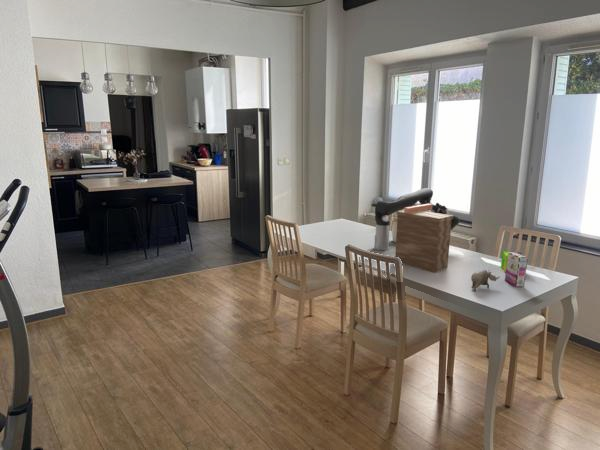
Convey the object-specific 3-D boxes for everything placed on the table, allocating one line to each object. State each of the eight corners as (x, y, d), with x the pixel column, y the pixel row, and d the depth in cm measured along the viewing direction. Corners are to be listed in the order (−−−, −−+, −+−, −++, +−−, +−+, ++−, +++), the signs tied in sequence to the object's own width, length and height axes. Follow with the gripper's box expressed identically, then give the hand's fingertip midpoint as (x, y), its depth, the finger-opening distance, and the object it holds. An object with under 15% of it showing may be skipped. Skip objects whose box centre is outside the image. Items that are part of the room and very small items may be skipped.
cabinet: (435, 273, 254) (439, 218, 247) (393, 261, 275) (396, 211, 268) (448, 268, 263) (453, 215, 257) (407, 257, 285) (411, 208, 278)
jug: (388, 242, 322) (390, 209, 317) (392, 238, 336) (394, 206, 331) (410, 245, 317) (412, 210, 311) (413, 240, 331) (415, 207, 325)
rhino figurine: (460, 283, 229) (476, 259, 229) (472, 294, 236) (488, 271, 237) (471, 289, 222) (488, 265, 223) (484, 300, 230) (500, 276, 230)
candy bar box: (524, 287, 232) (528, 257, 229) (515, 287, 232) (519, 257, 228) (512, 280, 243) (516, 251, 239) (504, 280, 242) (507, 251, 239)
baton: (408, 213, 261) (408, 208, 260) (404, 212, 263) (404, 207, 262) (432, 208, 278) (432, 204, 277) (428, 208, 280) (428, 203, 280)
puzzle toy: (523, 273, 255) (525, 257, 253) (504, 272, 257) (506, 255, 255) (518, 268, 265) (520, 252, 263) (500, 267, 267) (502, 251, 264)
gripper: (433, 206, 295) (422, 196, 284) (453, 209, 284) (442, 199, 273) (429, 216, 294) (418, 206, 283) (449, 220, 283) (438, 210, 272)
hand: (430, 203), depth 278 cm, fingers open, 8 cm apart
